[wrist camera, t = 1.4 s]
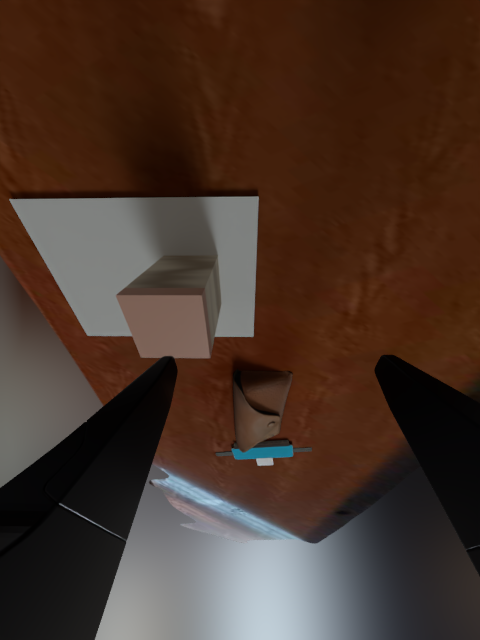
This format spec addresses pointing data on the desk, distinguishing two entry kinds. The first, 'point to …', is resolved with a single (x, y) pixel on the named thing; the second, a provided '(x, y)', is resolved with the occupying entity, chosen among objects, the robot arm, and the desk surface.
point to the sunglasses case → (258, 405)
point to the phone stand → (265, 451)
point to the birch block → (174, 307)
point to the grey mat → (143, 250)
